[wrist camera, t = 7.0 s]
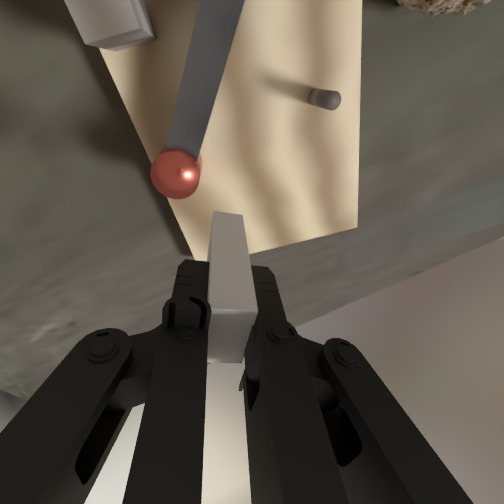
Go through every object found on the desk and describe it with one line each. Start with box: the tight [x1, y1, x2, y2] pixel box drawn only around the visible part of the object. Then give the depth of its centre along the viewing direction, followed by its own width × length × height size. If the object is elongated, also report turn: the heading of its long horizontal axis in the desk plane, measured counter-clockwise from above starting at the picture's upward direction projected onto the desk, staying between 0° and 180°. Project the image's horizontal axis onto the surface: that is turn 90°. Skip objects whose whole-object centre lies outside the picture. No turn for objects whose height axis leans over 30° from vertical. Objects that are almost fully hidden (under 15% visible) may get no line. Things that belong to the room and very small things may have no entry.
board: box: [64, 0, 362, 261], centre depth 20 cm, size 19×30×7 cm, turn 13°
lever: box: [150, 0, 245, 199], centre depth 18 cm, size 4×18×4 cm, turn 157°
